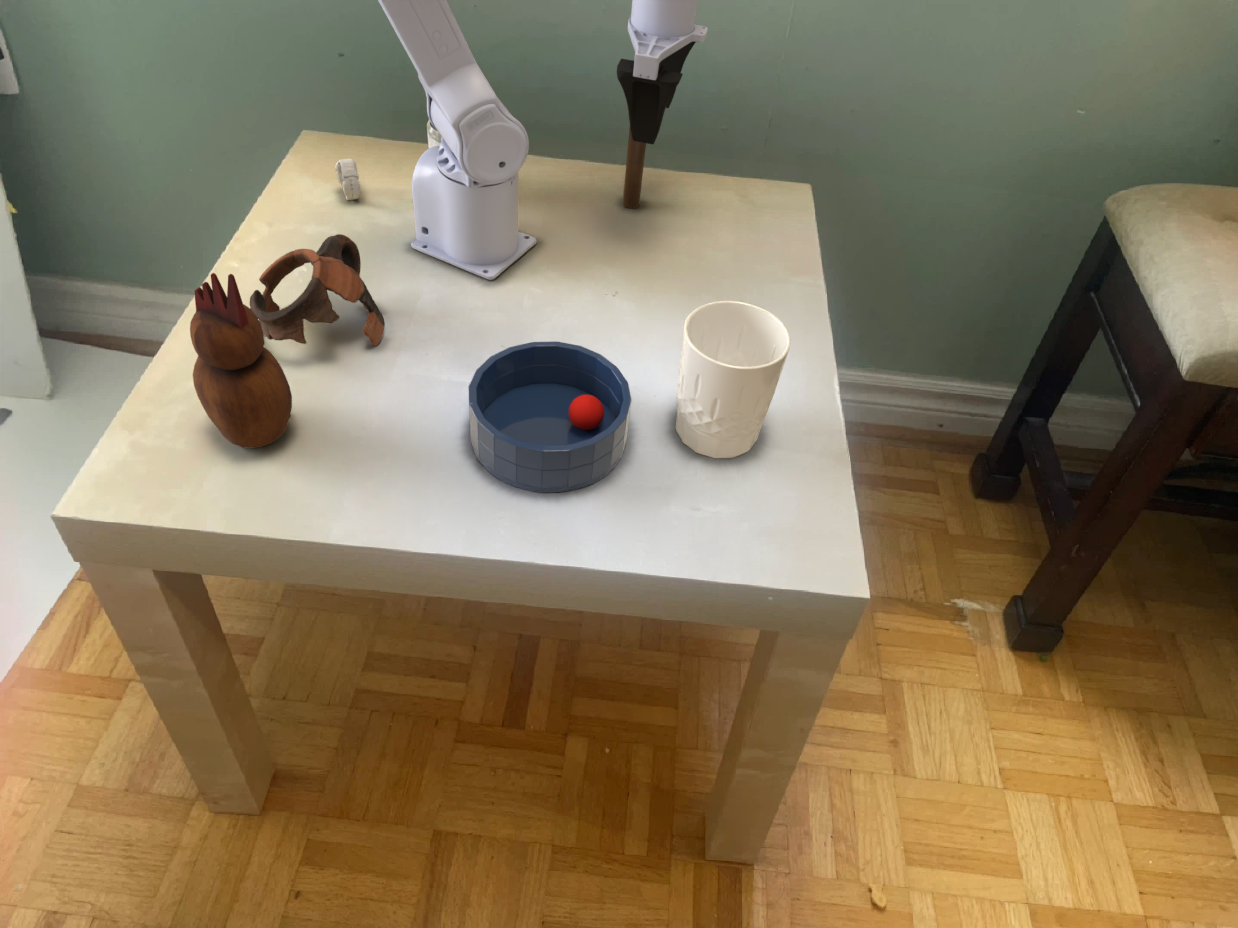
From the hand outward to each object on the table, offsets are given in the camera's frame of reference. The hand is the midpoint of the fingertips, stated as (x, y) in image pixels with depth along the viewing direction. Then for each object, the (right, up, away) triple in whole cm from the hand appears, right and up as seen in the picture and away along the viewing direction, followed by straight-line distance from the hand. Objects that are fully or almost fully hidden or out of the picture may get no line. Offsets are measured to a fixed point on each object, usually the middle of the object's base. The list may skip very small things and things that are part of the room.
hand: (651, 122), depth 88 cm
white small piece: (-20, -4, +9) cm, 22 cm away
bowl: (-9, -30, -15) cm, 35 cm away
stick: (-2, -5, +9) cm, 11 cm away
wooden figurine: (-31, -30, -17) cm, 47 cm away
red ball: (-6, -29, -16) cm, 33 cm away
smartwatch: (-31, -6, +6) cm, 32 cm away
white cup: (+5, -30, -13) cm, 33 cm away
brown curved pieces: (-28, -21, -8) cm, 36 cm away
